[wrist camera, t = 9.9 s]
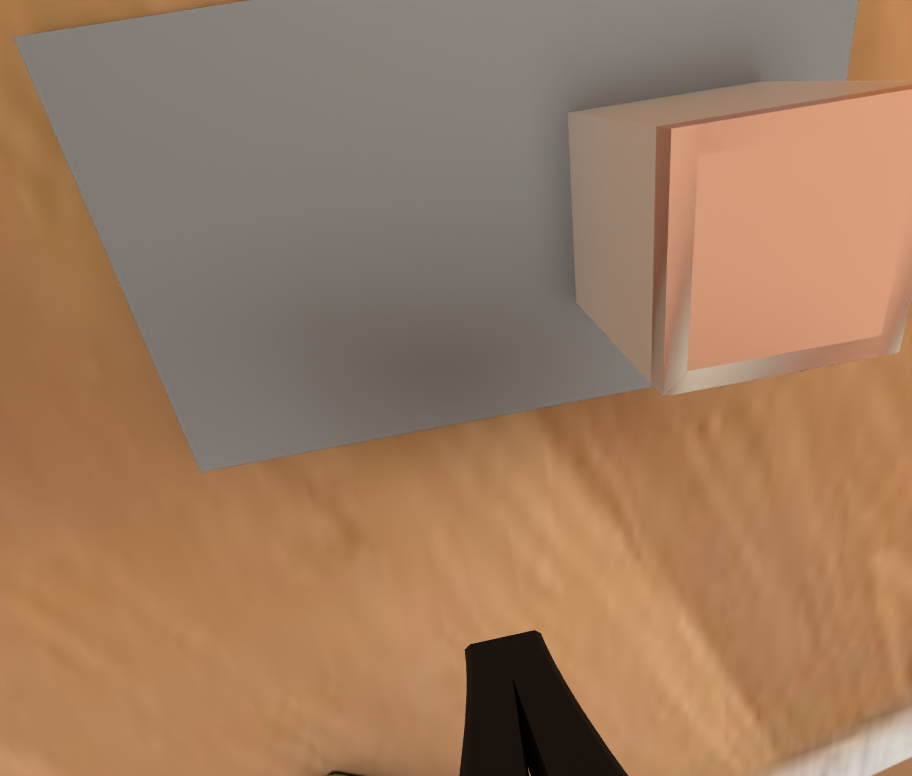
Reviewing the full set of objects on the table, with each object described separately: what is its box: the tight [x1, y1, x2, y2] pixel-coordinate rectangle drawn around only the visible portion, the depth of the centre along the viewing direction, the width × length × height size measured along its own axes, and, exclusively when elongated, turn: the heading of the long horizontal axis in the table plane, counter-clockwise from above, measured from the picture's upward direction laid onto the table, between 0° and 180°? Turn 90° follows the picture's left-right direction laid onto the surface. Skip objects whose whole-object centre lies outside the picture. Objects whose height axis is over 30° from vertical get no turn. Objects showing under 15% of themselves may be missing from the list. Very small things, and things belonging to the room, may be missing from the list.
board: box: [13, 0, 859, 472], centre depth 17 cm, size 20×12×1 cm, turn 98°
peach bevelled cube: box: [568, 81, 912, 397], centre depth 14 cm, size 5×5×6 cm
